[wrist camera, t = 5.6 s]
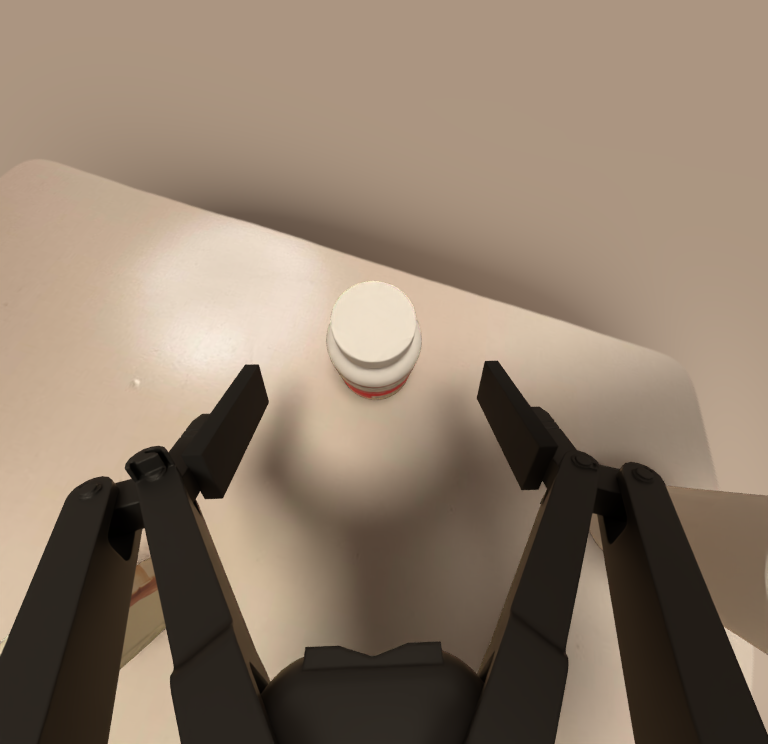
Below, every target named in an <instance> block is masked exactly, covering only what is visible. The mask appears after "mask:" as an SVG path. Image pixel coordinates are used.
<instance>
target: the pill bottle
mask: <svg viewBox="0 0 768 744" xmlns="http://www.w3.org/2000/svg"><path fill="white" fill-rule="evenodd" d="M326 342H327V350H328V353H329V356H330V359H331V361H332V363H333V365H334V366H335V368H336V369H337V371H338V372H339V374H340V375H341V377H342V378H343V380H344V381H345V383H346V384H347V386H348V387H349V388H350V389H351V390H352V391H353V392H355V393H356V394H357V395H359V396H361V397H364V398H367V399H384V398H387V397H390V396H392V395H394V394H395V393H396V392H398V391H399V390H400V389H401V388H402V387H403V386H404V384H405V383H406V381H407V379H408V377H409V375H410V373H411V371H412V369H413V367H414V365H415V363H416V361H417V359H418V357H419V354H420V350H421V344H422V336H421V330H420V326H419V323H418V321H417V319H416V313H415V310H414V307H413V305H412V303H411V301H410V300H409V298H408V297H407V296H406V294H404V293H403V292H402V291H401V290H400V289H398V288H397V287H395V286H393V285H391V284H389V283H386V282H381V281H367V282H361V283H359V284H356V285H354V286H352V287H350V288H349V289H347V290H346V291H345V292H343V293H342V295H341V296H340V297H339V298H338V299H337V301H336V303H335V305H334V307H333V310H332V313H331V319H330V324H329V327H328V331H327V338H326Z"/></svg>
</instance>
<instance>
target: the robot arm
mask: <svg viewBox="0 0 768 744" xmlns="http://www.w3.org/2000/svg"><path fill="white" fill-rule="evenodd" d="M477 400H478V402H479V404H480V406H481V408H482V410H483V412H484V414H485V416H486V418H487V420H488V422H489V424H490V426H491V428H492V431H493V433H494V435H495V437H496V439H497V441H498V443H499V445H500V447H501V449H502V451H503V453H504V455H505V457H506V459H507V461H508V463H509V465H510V467H511V470H512V472H513V474H514V476H515V478H516V480H517V482H518V484H519V486H520V488H521V490H538V489H539V487H540V485H541V483H542V481H543V482H544V484H545V486H546V488H547V490H546V492H545V494H544V496H543V498H542V500H541V502H540V504H541V506H540V508H539V511H538V514H537V516H536V519H535V522H534V525H533V527H532V530H531V533H530V536H529V538H528V541H527V544H526V546H525V549H524V552H523V555H522V557H521V560H520V563H519V566H518V568H517V571H516V574H515V577H514V579H513V582H512V585H511V587H510V590H509V593H508V596H507V598H506V601H505V604H504V607H503V609H502V612H501V615H500V617H499V620H498V623H497V626H496V628H495V631H494V634H493V637H492V639H491V642H490V644H489V647H488V649H487V651H486V654H485V656H484V658H483V661H482V663H481V666H480V668H479V671H478V674H476V673H475V672H474V671H473V670H472V669H471V668H470V667H469V666H468V665H467V664H465V663H464V662H463V661H461V660H460V659H459V658H457V657H455V656H453V655H451V654H449V653H447V652H444V651H442V648H441V642H418V643H406V644H404V645H402V646H399V647H397V648H394V649H392V650H389V651H387V652H384V653H382V654H380V655H377V656H369V655H366V654H363V653H360V652H356V651H353V650H350V649H347V648H344V647H341V646H323V647H305V654H304V657H303V658H300V659H298V660H296V661H295V662H293V663H291V664H290V665H288V666H287V667H286V668H284V669H283V670H282V671H281V672H280V673H279V674H278V675H276V676H275V677H274V678H273V680H272V681H271V682H270V679H269V677H268V675H267V672H266V670H265V668H264V666H263V664H262V662H261V660H260V658H259V656H258V654H257V651H256V649H255V646H254V644H253V641H252V639H251V636H250V634H249V631H248V629H247V626H246V624H245V621H244V619H243V616H242V614H241V611H240V608H239V606H238V603H237V601H236V598H235V596H234V593H233V591H232V588H231V586H230V583H229V581H228V578H227V576H226V573H225V571H224V568H223V565H222V563H221V560H220V558H219V555H218V553H217V550H216V548H215V545H214V543H213V540H212V538H211V535H210V533H209V530H208V528H207V525H206V522H205V520H204V517H203V515H202V512H201V510H200V507H199V505H198V503H197V501H196V497H197V496H198V494H199V492H200V491H201V493H202V495H203V496H204V498H205V499H221V498H223V497H224V495H225V493H226V491H227V489H228V487H229V485H230V482H231V480H232V478H233V476H234V474H235V472H236V470H237V468H238V466H239V464H240V462H241V459H242V457H243V455H244V453H245V451H246V449H247V447H248V445H249V443H250V441H251V439H252V437H253V434H254V432H255V430H256V428H257V426H258V424H259V422H260V420H261V418H262V416H263V414H264V411H265V409H266V407H267V405H268V403H269V400H268V397H267V393H266V389H265V386H264V382H263V378H262V375H261V371H260V367H259V365H245V366H244V367H243V369H242V370H241V371H240V373H239V374H238V376H237V377H236V378H235V380H234V381H233V383H232V384H231V385H230V387H229V388H228V390H227V391H226V392H225V394H224V395H223V397H222V398H221V399H220V401H219V402H218V404H217V405H216V406H215V408H214V409H213V411H212V412H211V414H202V415H200V416H199V417H197V418H196V419H195V420H193V421H192V422H191V424H190V425H189V426H188V428H187V429H186V431H185V432H184V433H183V434H182V436H181V438H179V439H178V441H177V442H176V443H175V445H174V446H173V447H172V449H171V450H170V451H169V453H168V451H167V450H166V449H165V447H161V446H154V447H149V448H146V449H143V450H142V451H140V452H138V453H136V454H135V455H134V456H132V457H131V458H130V459H129V460H128V462H127V463H126V465H125V470H126V471H127V473H128V474H129V475H130V477H131V478H132V479H130V480H126V481H122V482H118V483H114V482H113V480H112V479H110V478H109V477H104V476H102V477H97V478H93V479H91V480H88V481H86V482H84V483H82V484H81V485H79V486H78V487H76V488H75V489H74V490H73V491H72V492H71V493H70V494H69V495H68V497H67V498H66V500H65V503H64V505H63V507H62V510H61V512H60V515H59V517H58V519H57V522H56V524H55V526H54V529H53V531H52V534H51V536H50V538H49V541H48V543H47V546H46V548H45V550H44V553H43V555H42V558H41V560H40V562H39V565H38V567H37V569H36V572H35V574H34V577H33V579H32V581H31V584H30V586H29V589H28V591H27V593H26V596H25V598H24V600H23V603H22V605H21V608H20V610H19V612H18V615H17V617H16V620H15V622H14V624H13V627H12V629H11V631H10V634H9V636H8V639H7V641H6V643H5V646H4V648H3V651H2V653H1V655H0V744H108V739H109V732H110V726H111V720H112V714H113V707H114V701H115V695H116V689H117V683H118V676H119V670H120V664H121V658H122V652H123V645H124V639H125V633H126V627H127V621H128V614H129V608H130V602H131V596H132V590H133V583H134V577H135V571H136V565H137V559H138V552H139V546H140V540H141V534H142V529H143V528H145V531H146V536H147V541H148V545H149V550H150V555H151V560H152V564H153V569H154V574H155V578H156V583H157V588H158V593H159V597H160V602H161V607H162V611H163V616H164V621H165V626H166V630H167V635H168V640H169V644H170V649H171V654H172V659H173V664H174V671H173V672H172V674H171V676H170V688H171V695H172V700H173V705H174V710H175V715H176V720H177V725H178V731H179V736H180V741H181V744H555V739H556V733H557V728H558V722H559V717H560V712H561V706H562V701H563V695H564V690H565V684H566V679H567V673H568V657H567V655H566V644H567V639H568V634H569V629H570V624H571V619H572V614H573V609H574V603H575V598H576V593H577V588H578V583H579V578H580V573H581V568H582V563H583V558H584V553H585V548H586V543H587V538H588V533H589V528H590V523H591V518H592V513H593V514H597V517H598V523H599V529H600V535H601V541H602V547H603V553H604V559H605V565H606V571H607V577H608V583H609V590H610V596H611V602H612V608H613V614H614V620H615V626H616V632H617V638H618V644H619V650H620V656H621V662H622V668H623V674H624V680H625V686H626V692H627V698H628V704H629V710H630V716H631V722H632V728H633V734H634V740H635V744H768V734H767V732H766V729H765V727H764V724H763V722H762V720H761V717H760V715H759V712H758V710H757V707H756V705H755V703H754V700H753V698H752V695H751V693H750V690H749V688H748V685H747V683H746V680H745V678H744V676H743V673H742V671H741V668H740V666H739V663H738V661H737V659H736V656H735V654H734V651H733V649H732V646H731V644H730V641H729V639H728V637H727V634H726V632H725V629H724V627H723V624H722V622H721V619H720V617H719V615H718V612H717V610H716V607H715V605H714V602H713V600H712V598H711V595H710V593H709V590H708V588H707V585H706V583H705V580H704V578H703V576H702V573H701V571H700V568H699V566H698V563H697V561H696V558H695V556H694V554H693V551H692V549H691V546H690V544H689V541H688V539H687V537H686V534H685V532H684V529H683V527H682V524H681V522H680V519H679V517H678V515H677V512H676V510H675V507H674V505H673V502H672V500H671V497H670V495H669V493H668V490H667V488H666V485H665V483H664V481H663V479H662V478H661V476H659V475H658V474H657V473H656V472H655V471H654V470H652V469H650V468H649V467H647V466H644V465H642V464H639V463H634V462H629V463H625V464H624V465H623V466H622V467H621V469H616V468H612V467H607V466H603V465H599V463H598V462H597V461H596V460H595V459H594V458H593V457H592V456H590V455H588V454H586V453H584V452H581V451H578V450H576V448H575V447H574V446H573V444H572V443H571V442H570V441H569V439H568V438H567V437H566V435H565V434H564V433H563V431H562V430H561V429H559V426H558V425H557V424H556V422H554V420H553V418H552V417H551V416H550V415H549V413H547V412H546V411H545V410H543V409H542V408H541V407H530V405H529V404H528V403H527V401H526V400H525V398H524V397H523V395H522V394H521V393H520V391H519V390H518V388H517V387H516V386H515V384H514V383H513V381H512V380H511V379H510V377H509V376H508V374H507V373H506V372H505V370H504V369H503V367H502V366H501V365H500V363H499V362H498V361H485V363H484V368H483V372H482V377H481V381H480V386H479V390H478V395H477Z"/></svg>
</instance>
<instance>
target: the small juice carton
mask: <svg viewBox="0 0 768 744" xmlns="http://www.w3.org/2000/svg"><path fill="white" fill-rule="evenodd" d="M165 628H166V626H165V621H164V616H163V611H162V607H161V602H160V597H159V593H158V588H157V583H156V578H155V574H154V569H153V564H152V560H151V558H149V559H147V560H145V561H143V562H141V563H140V564H138V565H136V571H135V577H134V583H133V590H132V596H131V602H130V608H129V614H128V621H127V627H126V633H125V639H124V645H123V652H122V658H121V664H120V669H121V668H122V667H123V666H124V665H126V664H127V663H128V662H129V661H130V660H131V659H132V658H133V657H135V656H136V655H137V654H138V653H139V652H140V651H141V650H142V649H144V648H145V647H146V646H147V645H148V644H149V643H150V642H151V641H152V640H153V639H154V638H155V637H157V636H158V635H159V634H160V633H161V632H162V631H163V630H164V629H165ZM8 636H9V635H8ZM8 636H6V637H5V638H4V639H3V640H2V641H0V655H1V653H2V651H3V648H4V646H5V643H6V641H7V639H8Z"/></svg>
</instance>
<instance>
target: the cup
mask: <svg viewBox="0 0 768 744" xmlns="http://www.w3.org/2000/svg"><path fill="white" fill-rule="evenodd" d="M666 488H667V490H668V493H669V495H670V497H671V500H672V502H673V505H674V507H675V510H676V512H677V515H678V517H679V519H680V522H681V524H682V527H683V529H684V532H685V534H686V537H687V539H688V541H689V544H690V546H691V549H692V551H693V554H694V556H695V558H696V561H697V563H698V566H699V568H700V571H701V573H702V576H703V578H704V580H705V583H706V585H707V588H708V590H709V593H710V595H711V598H712V600H713V602H714V605H715V607H716V610H717V612H718V615H719V617H720V619H721V622H722V624H723V626H724V627H725V628H727V629H728V630H730V631H732V632H733V633H735V634H736V635H738V636H739V637H741V638H742V639H744V640H745V641H747V642H749V643H750V644H752V645H753V646H755V647H756V648H758V649H759V650H761V651H763V652H764V653H766V654H767V655H768V496H765V495H753V494H743V493H733V492H723V491H713V490H703V489H693V488H683V487H673V486H666ZM589 530H590V532H591V535H592V537H593V539H594V540H595V542H596V543H597V545H598V546H599V547H600V548H601V549H602V550H603V547H602V541H601V535H600V529H599V523H598V517H597V514H593V513H592V518H591V523H590V528H589Z"/></svg>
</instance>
